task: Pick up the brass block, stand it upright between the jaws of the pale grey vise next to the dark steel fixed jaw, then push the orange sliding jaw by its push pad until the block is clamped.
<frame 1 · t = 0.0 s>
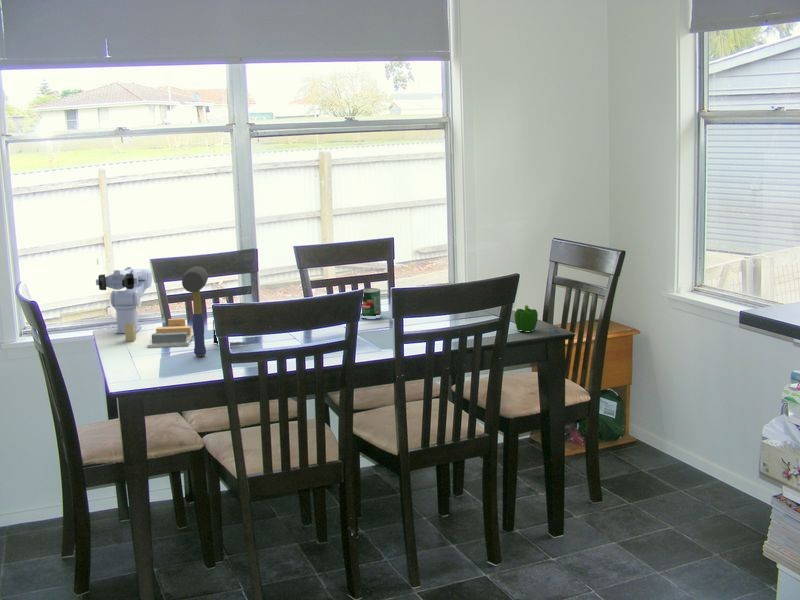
hand: (112, 283, 326), 22 cm above the table, tool horizontal, fingers open, 7 cm apart
canned tomato: (371, 318, 362), on the table
brass block: (130, 340, 334), on the table
rubber mallet: (200, 356, 310), on the table
bell pepper: (525, 331, 334), on the table
sliding jaw: (175, 326, 341), point 3 cm above the table, slide at 0.0 cm
ammunition clip: (229, 343, 328), on the table
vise: (173, 338, 336), on the table
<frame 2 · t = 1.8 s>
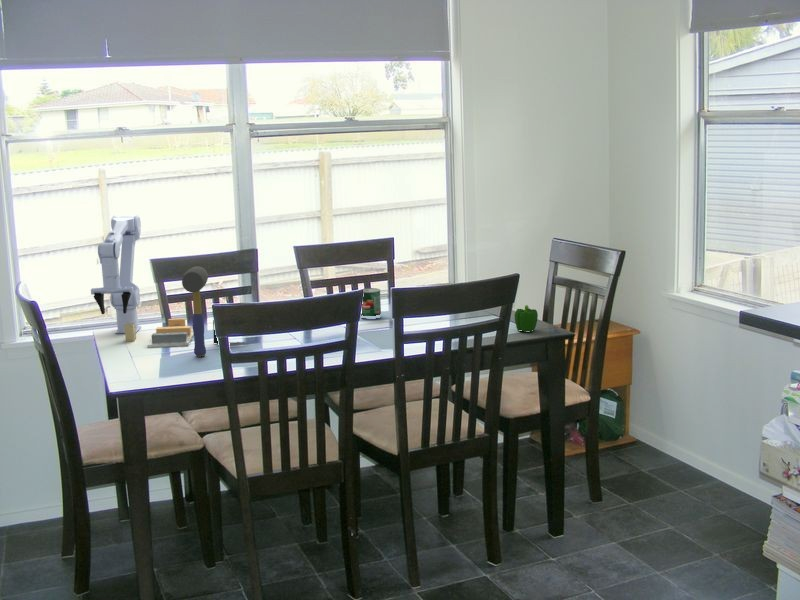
hand: (114, 313, 332), 10 cm above the table, tool pointing down, fingers open, 7 cm apart
nothing on the table moved.
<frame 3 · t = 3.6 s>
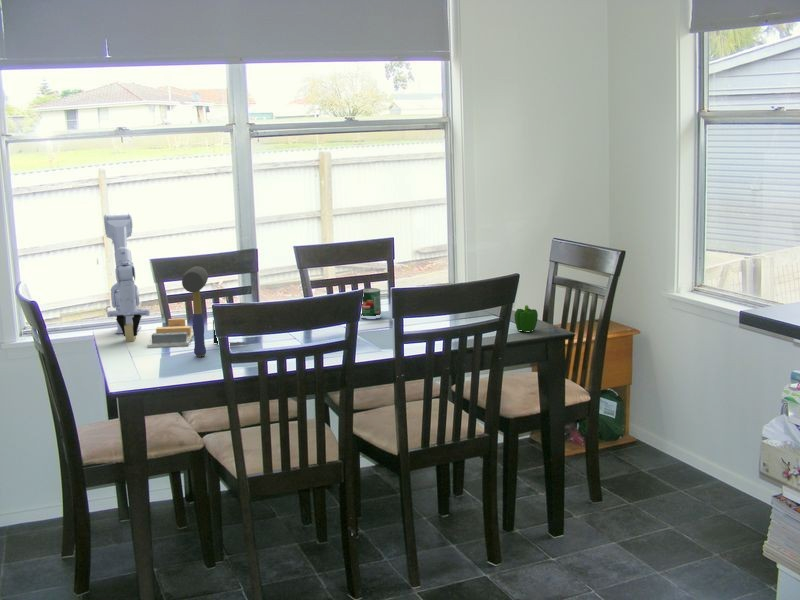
hand: (130, 335, 334), 2 cm above the table, tool pointing down, fingers closed on brass block, 3 cm apart
brass block: (130, 340, 334), on the table, touching gripper
everything else where it was.
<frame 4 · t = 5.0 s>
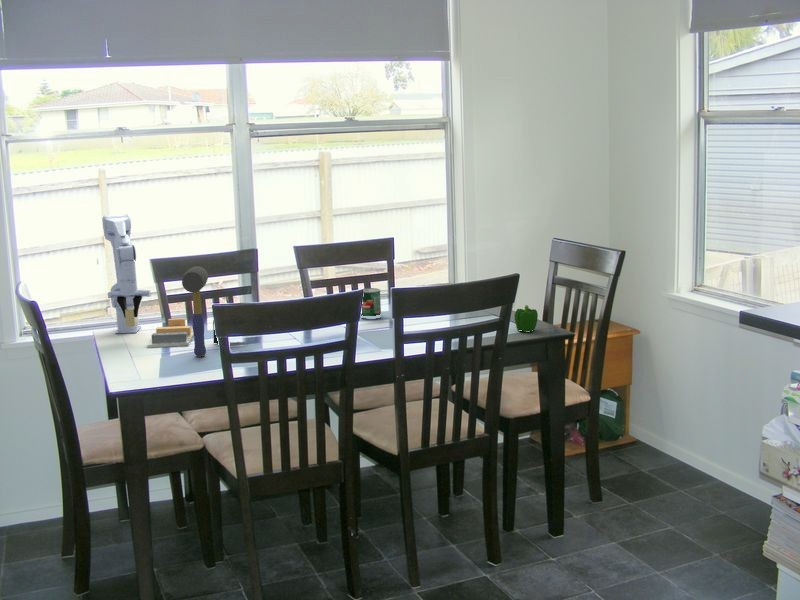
hand: (131, 316, 332), 9 cm above the table, tool pointing down, fingers closed on brass block, 3 cm apart
brass block: (131, 325, 333), point 6 cm above the table, touching gripper
everything else where it was.
when the fingers open (4 cm above the table, at t = 7.0 s): brass block stays where it is, resting on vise.
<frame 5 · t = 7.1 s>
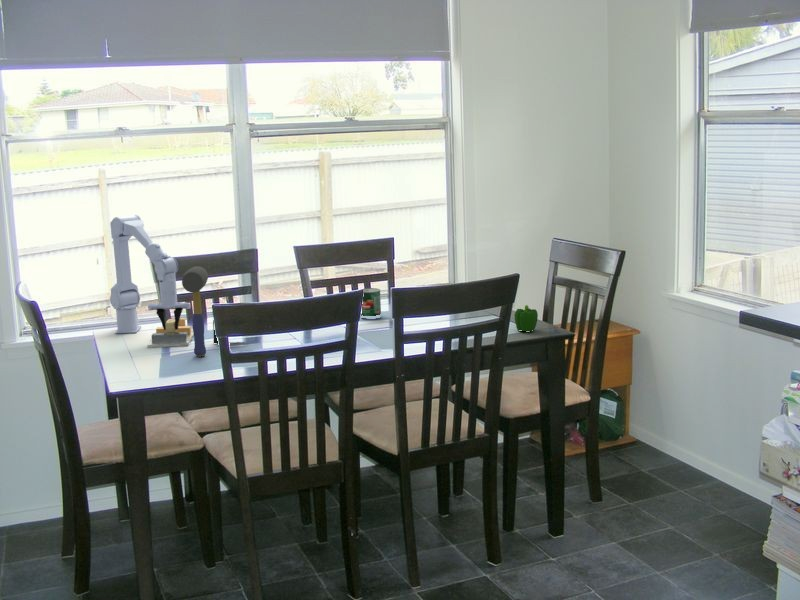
hand: (171, 329, 332), 4 cm above the table, tool pointing down, fingers open, 3 cm apart
brass block: (171, 337, 332), point 1 cm above the table, touching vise
everything else where it was.
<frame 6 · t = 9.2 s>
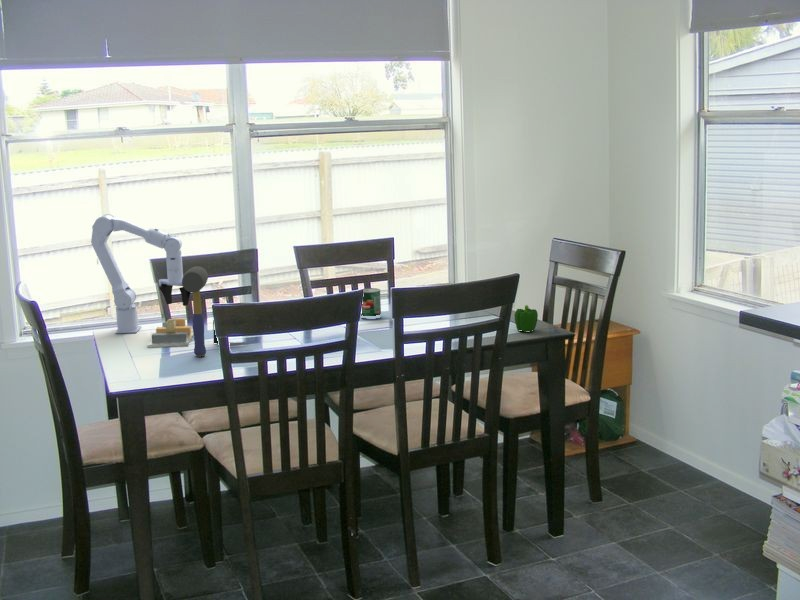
hand: (177, 304, 348), 9 cm above the table, tool pointing down, fingers open, 7 cm apart
nothing on the table moved.
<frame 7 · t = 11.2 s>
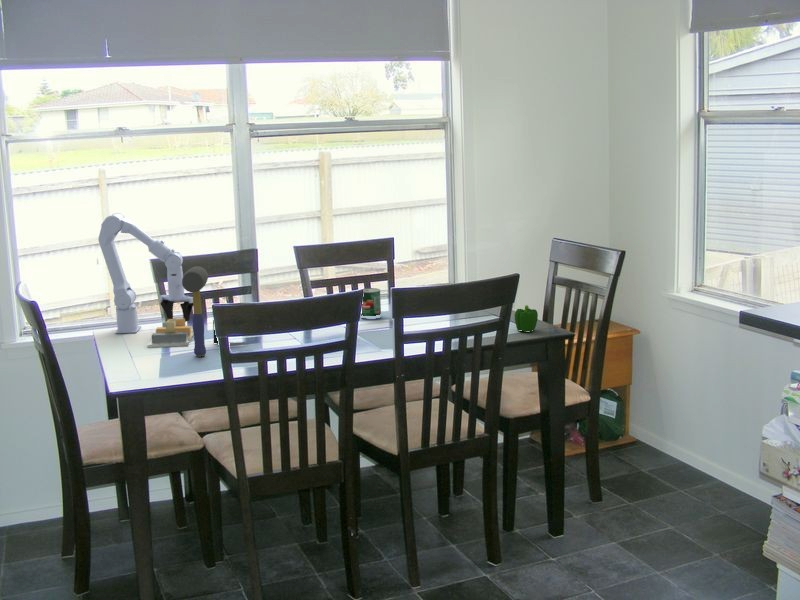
hand: (178, 320, 349), 3 cm above the table, tool pointing down, fingers open, 7 cm apart
sliding jaw: (175, 326, 341), point 3 cm above the table, slide at 0.1 cm, touching gripper
everything else where it was.
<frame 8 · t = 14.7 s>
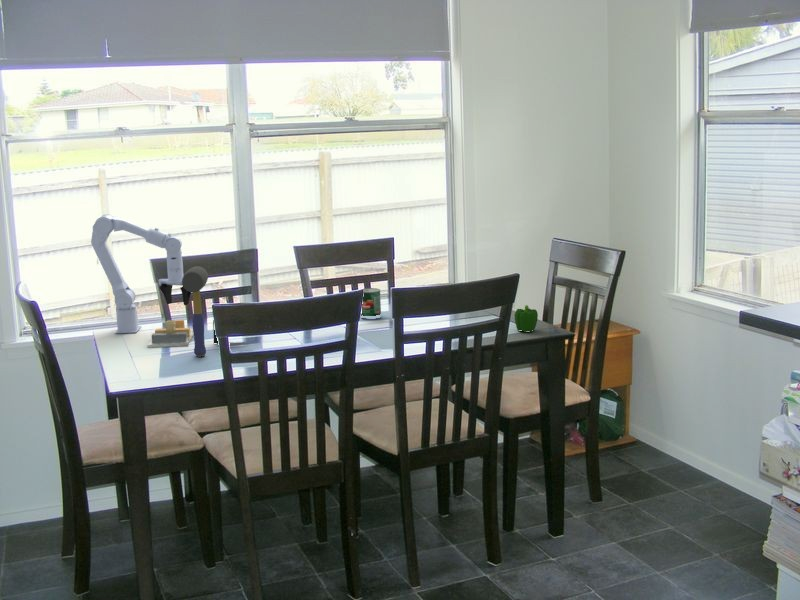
hand: (177, 304, 349), 9 cm above the table, tool pointing down, fingers open, 7 cm apart
brass block: (171, 338, 332), point 1 cm above the table, touching sliding jaw, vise
sliding jaw: (174, 328, 339), point 3 cm above the table, slide at 2.5 cm, touching brass block
everything else where it was.
at the end: brass block 0.1 cm from the target spot on the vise, point 1.0 cm above the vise's base; brass block touching sliding jaw, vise; brass block tilted 0° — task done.
